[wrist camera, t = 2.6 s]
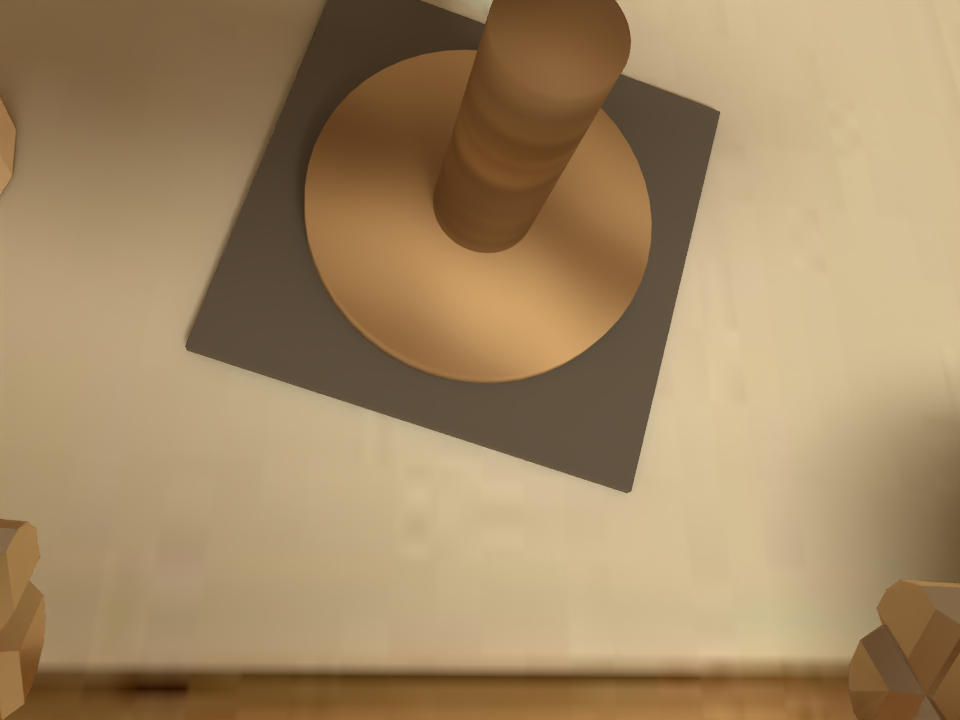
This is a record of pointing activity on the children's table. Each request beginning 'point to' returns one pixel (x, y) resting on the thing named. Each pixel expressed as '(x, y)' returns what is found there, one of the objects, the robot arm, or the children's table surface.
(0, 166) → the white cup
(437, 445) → the children's table surface
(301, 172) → the mat
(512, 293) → the lid
